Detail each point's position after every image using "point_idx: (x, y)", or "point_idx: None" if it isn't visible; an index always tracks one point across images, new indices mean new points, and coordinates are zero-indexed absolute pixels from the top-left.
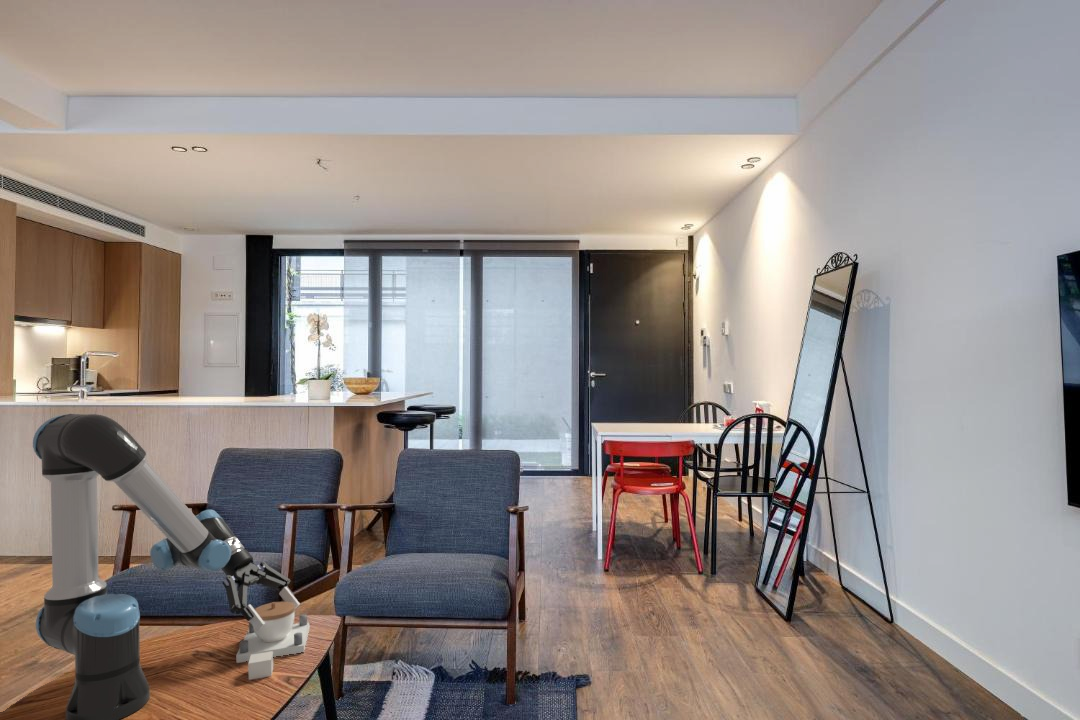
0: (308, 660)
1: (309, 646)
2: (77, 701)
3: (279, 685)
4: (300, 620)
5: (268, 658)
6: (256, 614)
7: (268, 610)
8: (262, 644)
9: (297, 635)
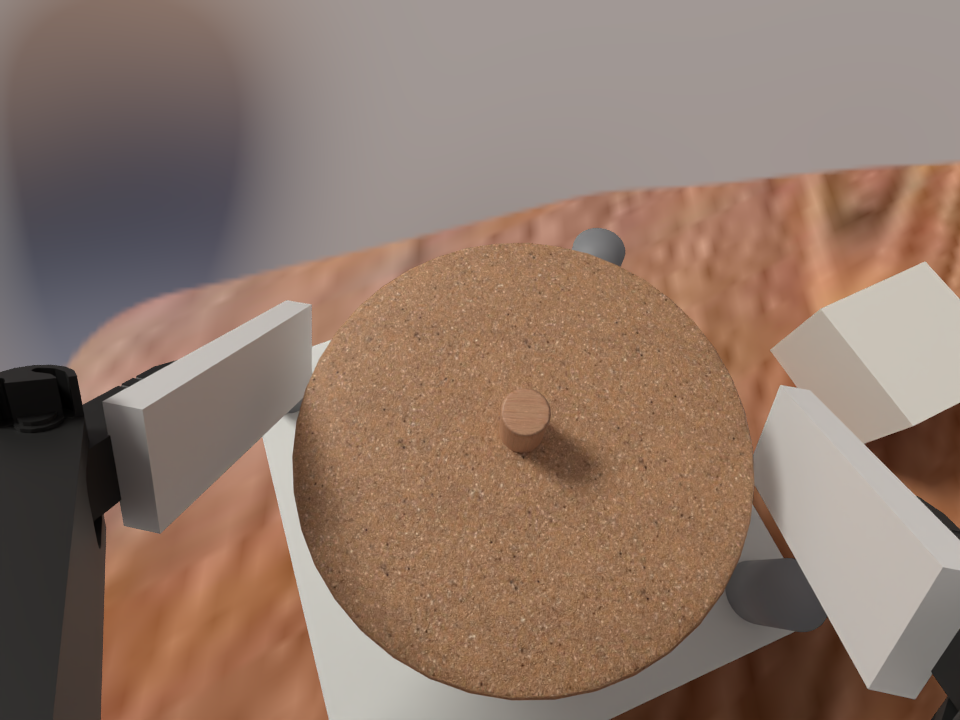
0: (668, 214)
1: None
2: None
3: (926, 227)
4: None
5: (917, 284)
6: (860, 455)
7: (595, 452)
8: None
9: (619, 243)
